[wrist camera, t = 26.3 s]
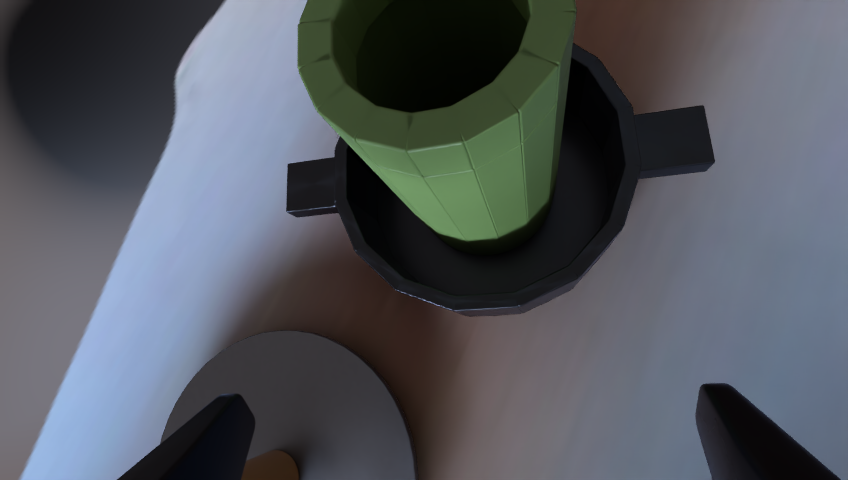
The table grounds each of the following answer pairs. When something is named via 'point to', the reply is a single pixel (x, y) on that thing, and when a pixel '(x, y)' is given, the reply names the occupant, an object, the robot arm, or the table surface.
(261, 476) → the pan lid
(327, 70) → the crock
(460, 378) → the table surface
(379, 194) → the pan
